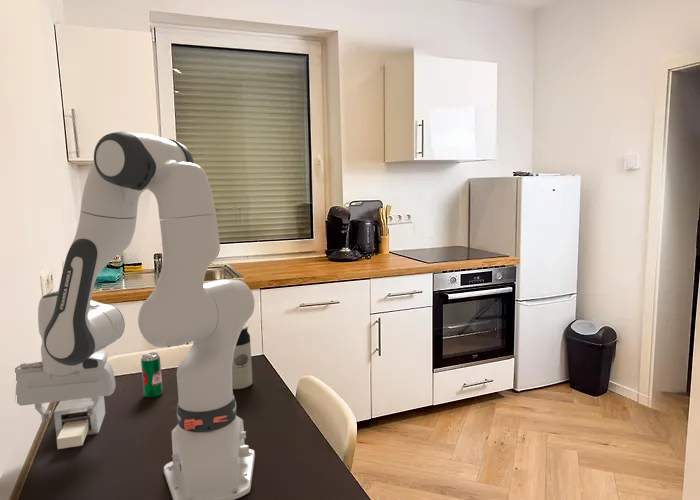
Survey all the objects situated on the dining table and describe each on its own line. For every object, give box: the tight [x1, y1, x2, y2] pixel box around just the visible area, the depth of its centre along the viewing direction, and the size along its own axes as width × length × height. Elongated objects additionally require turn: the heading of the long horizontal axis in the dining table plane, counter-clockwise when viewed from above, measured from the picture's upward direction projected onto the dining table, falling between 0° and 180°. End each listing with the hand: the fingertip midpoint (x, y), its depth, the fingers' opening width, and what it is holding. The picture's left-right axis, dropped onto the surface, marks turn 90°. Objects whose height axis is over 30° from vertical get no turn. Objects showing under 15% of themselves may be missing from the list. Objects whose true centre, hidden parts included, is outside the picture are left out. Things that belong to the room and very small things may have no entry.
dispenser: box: [53, 396, 106, 438], centre depth 131 cm, size 12×9×7 cm
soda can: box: [140, 351, 163, 399], centre depth 148 cm, size 5×5×12 cm
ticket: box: [56, 411, 91, 450], centre depth 125 cm, size 16×5×2 cm, turn 17°
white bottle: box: [232, 323, 253, 390], centre depth 154 cm, size 8×8×18 cm
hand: (69, 416), depth 121 cm, fingers open, 8 cm apart
